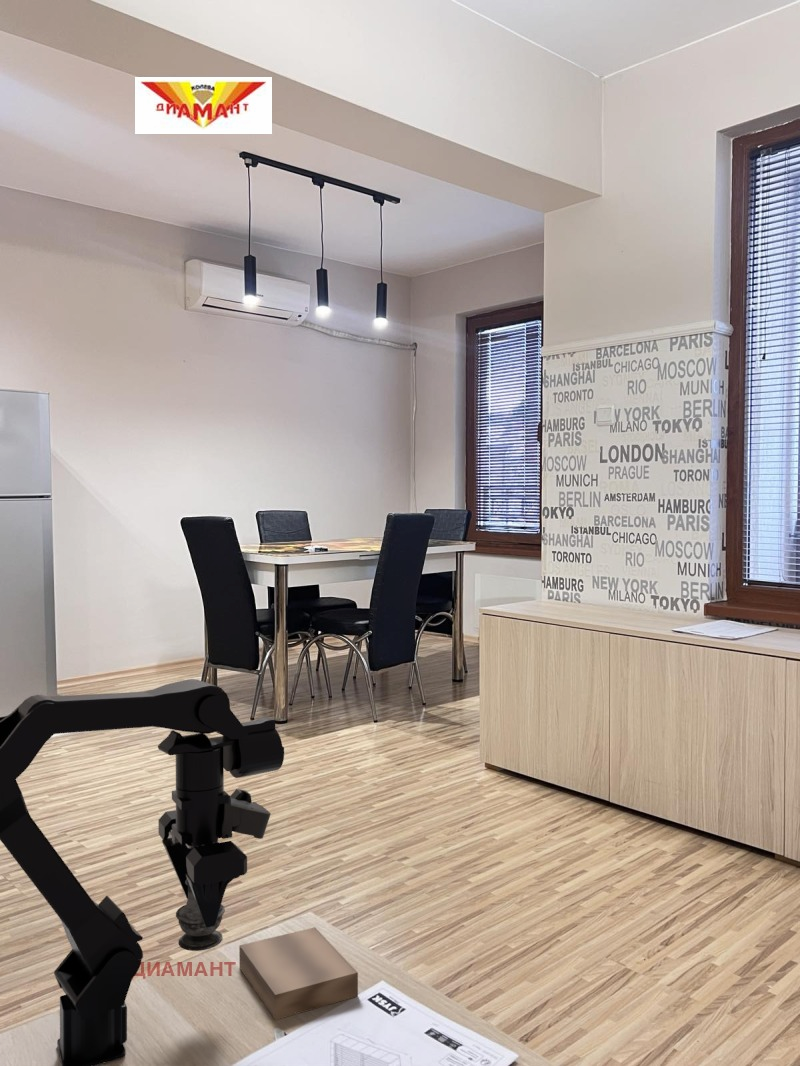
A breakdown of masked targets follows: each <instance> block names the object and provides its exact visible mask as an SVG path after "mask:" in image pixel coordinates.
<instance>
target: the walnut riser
mask: <svg viewBox="0 0 800 1066" xmlns="http://www.w3.org/2000/svg"><path fill="white" fill-rule="evenodd" d="M238 947H239V969H240V968H241V969H240V970H241V972H242V973H243V975H244V976H245V978H246V979H247V980H248V982H249V984H250V985H251V986H252V988H253V989H254V991H255V992H256V994H257V995H258V996H259V998H260V999H261V1001H262V1003H263V1005H265V1007H266V1008H267V1010H268V1011H269V1013H270V1014H271V1016H272V1017H273V1019H274V1020H279V1019H282V1018H286V1017H290V1016H293V1015H297V1014H300V1013H304V1012H307V1011H310V1010H314V1009H318V1008H322V1007H325V1006H329V1005H331V1004H335V1003H338V1002H342V1001H346V1000H349V999H352V998H356V997H358V995H359V972H358V971H357V970H356V968H354V967H353V966H352V964H351V963H350V962H349V961H348V960H347V959H346V958H345V957H344V955H342V954H341V953H340V951H338V950H337V948H335V946H334V945H332V943H330V941H329V940H328V939H327V937H325V936H324V935H323V934H322V933H321V931H320V930H318V929H317V928H316V927H312V928H311V927H310V928H306V929H303V930H298V931H293V932H289V933H285V934H281V935H277V936H273V937H269V938H264V939H259V940H257V941H256V940H255V941H251V942H248V943H244V944H240V945H239V946H238Z"/></svg>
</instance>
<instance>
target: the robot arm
mask: <svg viewBox="0 0 800 1066" xmlns="http://www.w3.org/2000/svg"><path fill="white" fill-rule="evenodd" d="M150 727H153V728H161V729H169V730H171V731H170V732H169V733H168V736H167V737H166V738H164V739H163V740H162V741H161V742H160V743H159V744H158V746H157V749H158V750H159V751H161V752H163V753H164V754H167V755H168V756H175V790H172V791H171V800H172V801H173V802H174V803H175V809H174V810H169V811H165V812H164V813H163V814H162V815H161V816H160V817H159V819H158V821H157V822H158V836H159V837H160V838H161V843H162V845H163V847H164V849H165V851H166V854H167V856H168V858H169V860H170V863H171V866H172V867H173V870H174V872H175V875H176V876H177V879H178V881H179V883H180V886H181V888H182V890H183V892H184V895H185V898H186V900H188V885H186V883H185V881H186V879H187V880H188V882H189V885H190V888H191V890H192V893H193V895H194V898H195V901H196V903H197V906H198V909H199V911H200V914H201V916H202V919H203V921H204V924H205V926H206V927H212V926H214V925H215V924H216V920H217V917H218V913H219V910H220V906H221V904H222V902H223V899H224V895H225V893H226V889H227V887H228V885H229V884H230V883H231V882H232V881H233V880H234V879H237V878H239V877H241V876H245V875H246V874H247V873H248V856H247V854H245V853H244V852H243V851H242V849H241V848H240V847H239V846H238V845H236V844H235V843H234V842H233V841H232V840H228V841H221V842H219V839H221V840H224V839H231V838H233V833H238V834H240V835H241V834H242V835H248V836H253V838H255V839H260V840H261V839H262V840H263V839H264V836H265V833H266V830H267V826H268V824H269V820H270V817H271V812H270V811H269V810H268V809H267V808H265V807H264V806H263V805H261V804H259V803H257V802H256V801H253V802H252V795H251V793H249V791H247V790H245V789H240V788H236V789H235V790H234V791H233V792H232V794H231V795H229V794H228V793H227V792H226V791H225V789H224V788H225V787H224V786H225V785H224V781H225V779H224V775H225V773H224V771H226V772H229V773H230V775H231V776H232V777H233V778H235V779H239V778H245V777H250V776H254V775H259V774H265V773H271V772H276V771H278V770H280V769H281V768H282V766H283V763H284V759H285V747H284V746H283V743H282V739H281V735H280V733H279V732H278V730H277V728H276V720H275V719H273V718H271V717H267V716H266V717H259V718H258V719H254V720H250V721H242V722H240V720H239V718H238V717H237V716H236V715H235V713H234V712H233V711H232V710H231V703H230V698H229V696H228V694H227V693H226V692H225V690H224V689H223V688H222V687H220V686H218V685H217V686H216V685H215V684H212V683H208V682H206V681H203V680H199V679H194V678H189V679H184V680H180V681H175V682H171V683H166V684H163V685H161V686H159V687H156V688H153V689H150V690H146V691H134V692H133V691H132V692H131V691H130V692H113V693H112V692H111V693H91V694H75V695H74V694H72V695H71V694H70V695H53V696H52V695H50V696H47V695H43V694H35V695H31V696H29V697H27V698H25V699H24V700H23V701H22V702H21V704H19V705H18V706H17V707H16V708H15V709H14V710H13V711H12V712H11V713H9V714H8V715H6V716H5V717H3V718H1V720H0V841H1V843H2V845H4V847H5V848H6V849H7V851H8V852H9V854H11V856H12V857H13V859H14V860H15V862H16V863H17V864H18V865H19V867H20V868H21V869H22V871H23V872H24V873H25V875H26V876H27V877H28V879H30V881H31V882H32V884H33V885H34V886H35V888H36V889H37V890H38V892H39V893H40V895H41V896H43V898H44V899H45V901H46V902H47V903H48V904H49V907H51V909H52V910H53V911H54V913H55V914H56V915H57V917H58V918H59V919H60V921H61V923H62V926H63V930H64V933H65V935H66V938H67V940H68V942H69V944H70V947H71V950H70V951H69V952H68V954H67V955H66V957H64V959H62V961H61V963H60V964H59V965H58V966H57V967H56V969H55V970H54V971H53V975H54V977H55V980H56V982H57V984H58V986H59V988H60V989H61V990H63V992H64V994H63V995H60V996H59V1038H58V1039H57V1042H56V1043H57V1049H58V1054H59V1057H60V1063H61V1066H98V1065H103V1064H106V1063H108V1062H112V1061H116V1060H119V1059H122V1058H125V1056H126V1049H125V1045H124V1044H125V1043H127V1041H128V1007H127V1004H126V999H127V996H128V993H129V990H130V986H131V983H132V980H133V978H134V977H135V976H136V975H137V973H138V971H139V970H140V967H141V964H142V960H143V958H144V954H143V949H142V947H141V945H140V943H139V942H141V941H143V936H142V935H141V933H139V932H138V931H137V930H136V929H135V927H133V926H132V924H131V923H130V922H129V920H128V917H127V915H126V913H124V911H123V910H122V909H121V908H120V907H119V906H118V905H117V904H116V903H115V902H114V901H113V900H112V898H110V897H109V895H106V896H105V897H104V898H103V899H102V900H101V901H100V902H99V903H97V902H95V900H93V899H92V897H91V896H90V895H89V893H87V891H86V890H85V888H84V887H83V886H82V884H81V883H80V881H79V880H78V879H77V878H76V876H75V875H74V873H73V872H72V871H71V869H70V868H69V867H68V865H67V864H66V862H65V861H64V859H63V858H62V857H61V856H60V854H59V853H58V852H57V851H56V849H55V848H54V846H53V845H52V844H51V842H50V840H49V839H48V838H47V836H46V835H45V834H44V833H43V831H42V830H41V829H40V827H39V826H38V825H37V823H36V822H35V820H34V819H33V818H32V817H31V815H30V813H29V810H28V807H27V804H26V801H25V798H24V796H23V795H24V794H23V792H22V790H21V788H20V785H19V784H18V781H17V779H18V778H19V777H20V776H21V775H22V774H23V773H24V772H25V771H26V770H27V769H28V768H29V767H30V765H31V763H32V762H33V761H34V759H35V758H36V757H37V755H38V753H39V752H40V750H42V748H43V746H44V745H45V744H46V743H47V742H48V741H49V740H50V739H51V738H52V737H53V736H54V735H58V734H70V733H85V732H96V731H97V732H98V731H110V730H126V729H136V728H150ZM180 732H187V733H193V734H186V735H182V734H181V733H180ZM214 733H217V734H218V735H220V736H215V737H208V735H207V734H214Z"/></svg>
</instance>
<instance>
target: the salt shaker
mask: <svg viewBox="0 0 800 1066" xmlns="http://www.w3.org/2000/svg"><path fill="white" fill-rule="evenodd" d="M185 883H186V885H188V899H186V904H183V905H182V906H181V907H179V908H178V909H177V911H176V912H175V917H176V918H177V921H178V924H179V927H180V929H181V931H182V932H184V934H182V935H181V936H180V937H179V939H178V946H179V947H180V948H181V949H183V950H186V951H193V952H199V951H201V952H202V951H205V950H211V949H213V948H215V947H217V946H218V945H220V944H221V943H222V941H223V934H222V933H221V932H220V931H218V930H217V929H218V928H219V926H221V923H222V920H223V915H224V913H225V912H226V907H225V906H224V905H223V904H222V903H221V906H220V910H219V913H218V917H217V920H216V924H215V925H214V926H212V927H206V926H205V924H204V921H203V919H202V916H201V914H200V911H199V909H198V906H197V903H196V901H195V898H194V895H193V893H192V890H191V888H190V885H189V882H188V880H187V879H186V881H185Z"/></svg>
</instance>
